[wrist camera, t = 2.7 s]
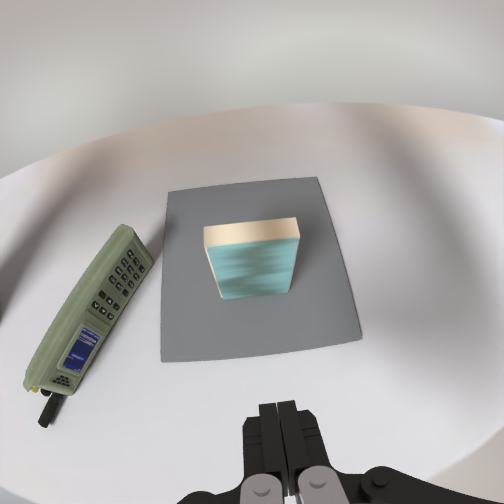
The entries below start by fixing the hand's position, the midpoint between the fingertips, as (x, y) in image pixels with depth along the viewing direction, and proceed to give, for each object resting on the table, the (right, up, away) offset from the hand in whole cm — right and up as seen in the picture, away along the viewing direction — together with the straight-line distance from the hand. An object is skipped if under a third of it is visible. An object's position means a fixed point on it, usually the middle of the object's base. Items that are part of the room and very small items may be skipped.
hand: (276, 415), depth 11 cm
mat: (-1, +6, +22) cm, 23 cm away
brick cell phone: (-19, -4, +17) cm, 26 cm away
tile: (-1, +3, +19) cm, 19 cm away
